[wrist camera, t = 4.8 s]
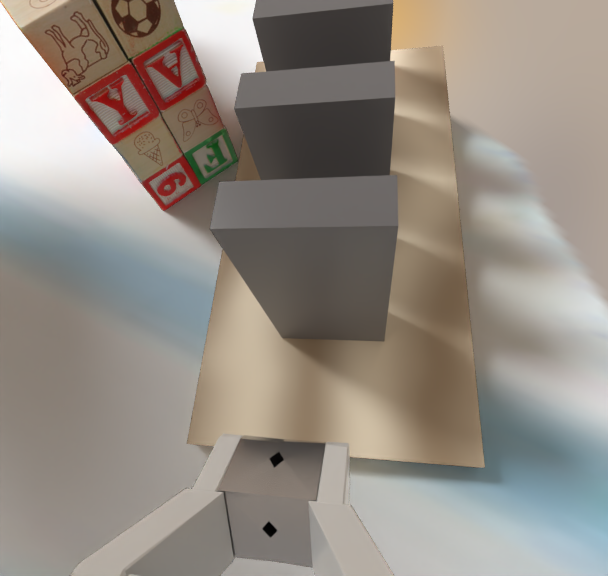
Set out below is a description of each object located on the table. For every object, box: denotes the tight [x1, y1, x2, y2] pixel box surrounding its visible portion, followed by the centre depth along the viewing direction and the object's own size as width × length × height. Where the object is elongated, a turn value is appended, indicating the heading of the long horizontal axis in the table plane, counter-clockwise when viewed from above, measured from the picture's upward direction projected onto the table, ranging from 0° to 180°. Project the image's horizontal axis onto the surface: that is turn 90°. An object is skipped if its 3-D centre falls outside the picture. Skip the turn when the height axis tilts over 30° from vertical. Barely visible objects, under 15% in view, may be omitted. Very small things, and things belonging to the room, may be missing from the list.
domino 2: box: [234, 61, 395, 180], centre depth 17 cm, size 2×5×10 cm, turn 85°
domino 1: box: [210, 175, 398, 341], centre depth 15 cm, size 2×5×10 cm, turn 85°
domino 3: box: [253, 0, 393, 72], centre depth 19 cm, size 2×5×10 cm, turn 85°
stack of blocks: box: [0, 0, 238, 211], centre depth 25 cm, size 21×6×12 cm, turn 37°
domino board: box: [187, 46, 485, 468], centre depth 23 cm, size 13×26×1 cm, turn 175°
